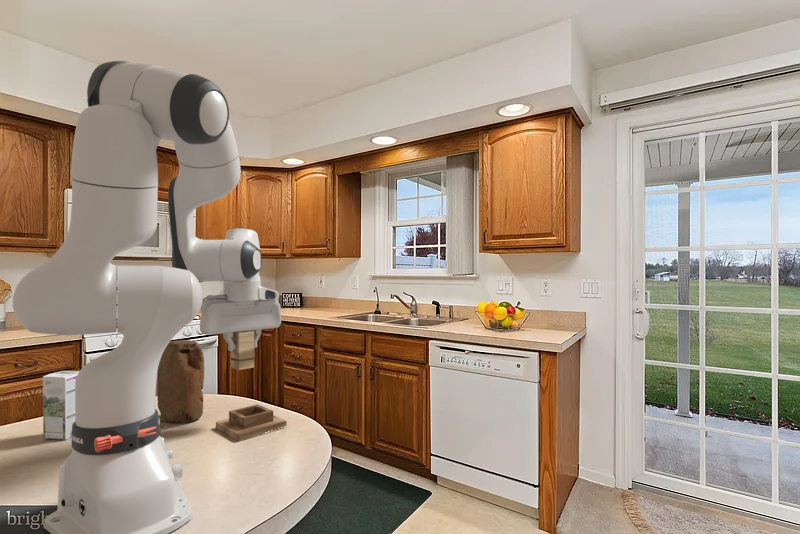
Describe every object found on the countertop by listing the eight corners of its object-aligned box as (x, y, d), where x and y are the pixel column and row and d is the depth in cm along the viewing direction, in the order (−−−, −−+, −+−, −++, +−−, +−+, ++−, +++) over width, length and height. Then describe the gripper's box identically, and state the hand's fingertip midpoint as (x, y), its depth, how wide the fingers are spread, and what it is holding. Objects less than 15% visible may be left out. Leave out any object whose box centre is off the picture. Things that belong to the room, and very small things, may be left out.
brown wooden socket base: (286, 427, 106) (286, 410, 106) (239, 441, 98) (239, 423, 98) (261, 415, 115) (261, 400, 115) (215, 428, 106) (215, 411, 106)
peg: (254, 367, 110) (254, 331, 110) (239, 370, 107) (238, 332, 107) (246, 365, 113) (246, 330, 113) (230, 367, 110) (230, 331, 110)
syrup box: (86, 431, 104) (86, 370, 104) (64, 441, 98) (64, 376, 98) (64, 430, 105) (64, 369, 105) (41, 440, 99) (41, 375, 99)
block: (154, 420, 112) (154, 341, 112) (179, 411, 118) (179, 337, 118) (184, 426, 107) (184, 344, 107) (209, 417, 114) (209, 340, 114)
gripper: (206, 295, 100) (207, 356, 100) (284, 292, 115) (284, 345, 115) (194, 295, 105) (195, 353, 104) (271, 292, 120) (271, 343, 119)
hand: (242, 349), depth 110 cm, fingers closed on peg, 4 cm apart
